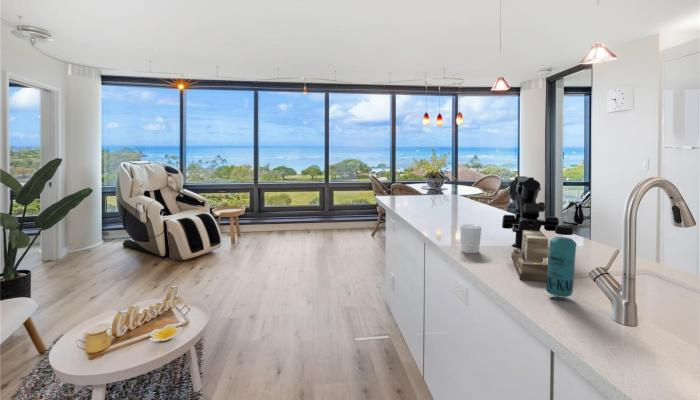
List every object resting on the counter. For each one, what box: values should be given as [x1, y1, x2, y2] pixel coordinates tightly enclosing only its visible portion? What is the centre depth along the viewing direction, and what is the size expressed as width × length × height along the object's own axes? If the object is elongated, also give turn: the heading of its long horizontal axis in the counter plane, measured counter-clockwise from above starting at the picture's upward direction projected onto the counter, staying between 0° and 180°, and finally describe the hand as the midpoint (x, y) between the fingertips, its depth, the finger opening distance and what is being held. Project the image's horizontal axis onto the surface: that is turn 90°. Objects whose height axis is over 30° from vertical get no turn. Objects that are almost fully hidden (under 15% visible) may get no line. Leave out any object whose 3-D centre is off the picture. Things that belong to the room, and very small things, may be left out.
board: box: [510, 248, 549, 283], centre depth 127 cm, size 26×12×5 cm, turn 162°
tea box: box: [520, 230, 549, 263], centre depth 130 cm, size 13×6×9 cm, turn 162°
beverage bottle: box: [545, 224, 577, 298], centre depth 101 cm, size 6×7×20 cm
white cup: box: [459, 224, 482, 254], centre depth 149 cm, size 8×8×10 cm
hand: (531, 241), depth 136 cm, fingers closed
